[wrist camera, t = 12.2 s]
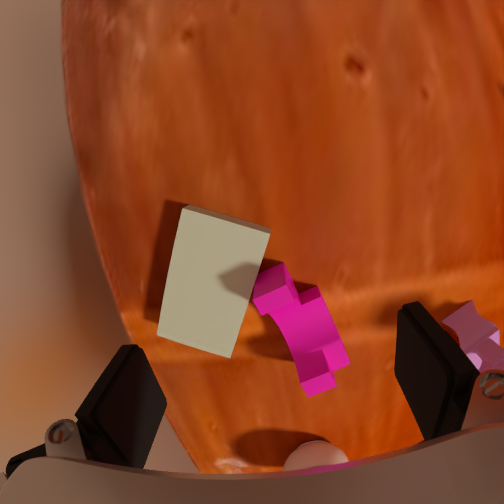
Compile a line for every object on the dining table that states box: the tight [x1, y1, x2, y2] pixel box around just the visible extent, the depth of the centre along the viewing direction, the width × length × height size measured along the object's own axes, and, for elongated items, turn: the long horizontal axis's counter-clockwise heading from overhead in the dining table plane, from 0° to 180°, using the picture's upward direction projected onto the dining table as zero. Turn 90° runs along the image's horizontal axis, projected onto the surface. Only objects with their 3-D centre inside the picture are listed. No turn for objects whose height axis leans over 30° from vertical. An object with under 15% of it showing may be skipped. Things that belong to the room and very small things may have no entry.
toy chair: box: [442, 300, 504, 373], centre depth 31 cm, size 8×9×15 cm
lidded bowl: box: [282, 440, 349, 471], centre depth 41 cm, size 13×13×11 cm
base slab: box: [157, 205, 270, 358], centre depth 37 cm, size 17×10×4 cm, turn 164°
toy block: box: [252, 262, 351, 397], centre depth 35 cm, size 15×6×8 cm, turn 27°
